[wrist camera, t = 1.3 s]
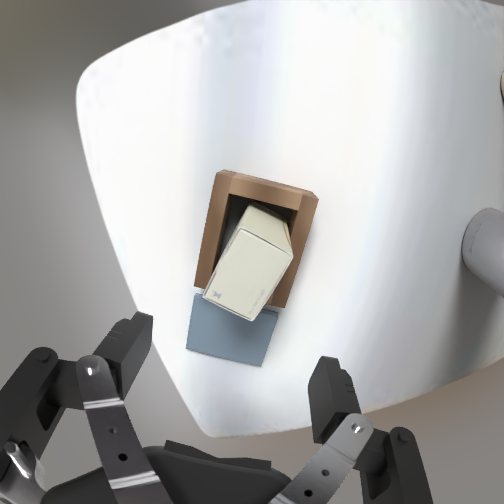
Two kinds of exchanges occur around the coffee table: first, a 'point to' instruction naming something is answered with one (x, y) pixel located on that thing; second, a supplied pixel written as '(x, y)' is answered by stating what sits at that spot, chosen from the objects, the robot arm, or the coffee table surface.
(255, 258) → the skincare box
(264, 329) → the pad
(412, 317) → the coffee table surface
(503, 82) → the travel mug
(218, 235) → the pocket block
